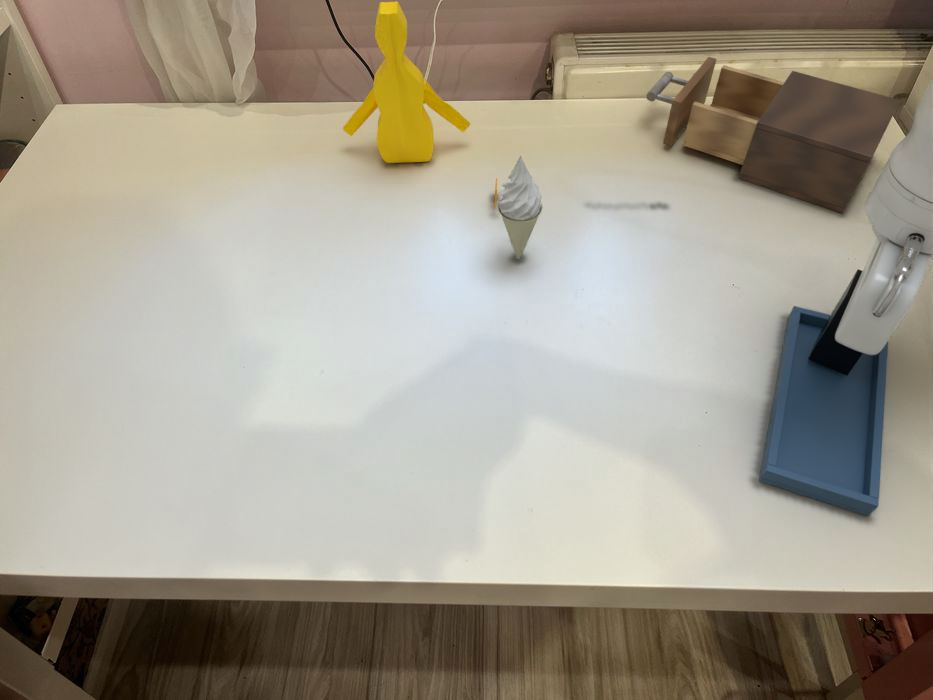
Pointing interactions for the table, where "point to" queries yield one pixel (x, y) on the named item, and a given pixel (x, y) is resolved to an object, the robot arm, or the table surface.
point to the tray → (825, 422)
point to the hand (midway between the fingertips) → (859, 313)
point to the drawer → (717, 109)
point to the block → (826, 345)
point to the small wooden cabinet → (817, 140)
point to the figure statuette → (401, 97)
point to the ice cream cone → (520, 206)
